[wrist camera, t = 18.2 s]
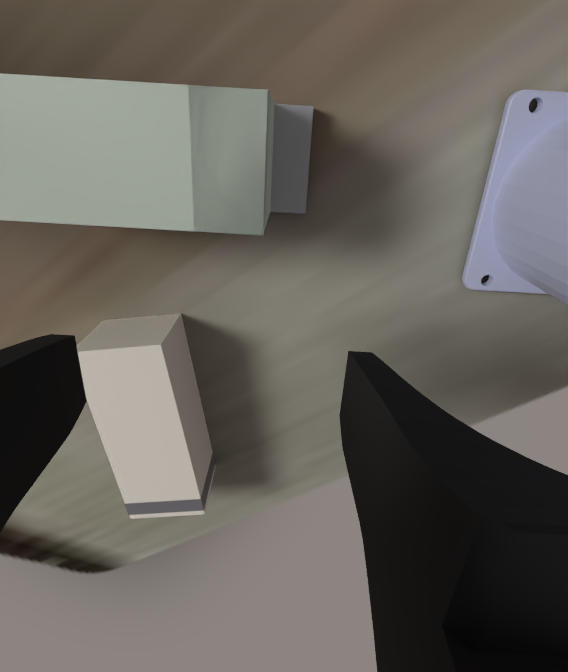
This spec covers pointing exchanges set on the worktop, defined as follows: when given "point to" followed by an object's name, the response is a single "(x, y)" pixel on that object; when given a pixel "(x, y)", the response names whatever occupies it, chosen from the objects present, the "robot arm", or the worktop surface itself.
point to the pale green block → (149, 154)
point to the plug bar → (149, 414)
